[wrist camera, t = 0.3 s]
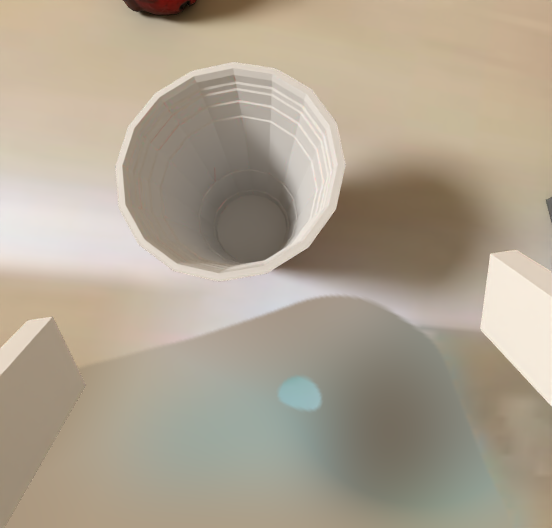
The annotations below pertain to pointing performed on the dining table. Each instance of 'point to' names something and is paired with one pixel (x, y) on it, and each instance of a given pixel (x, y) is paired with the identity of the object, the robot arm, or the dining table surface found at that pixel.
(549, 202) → the tray
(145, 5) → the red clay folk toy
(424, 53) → the dining table surface
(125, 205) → the plastic cup
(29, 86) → the dining table surface
